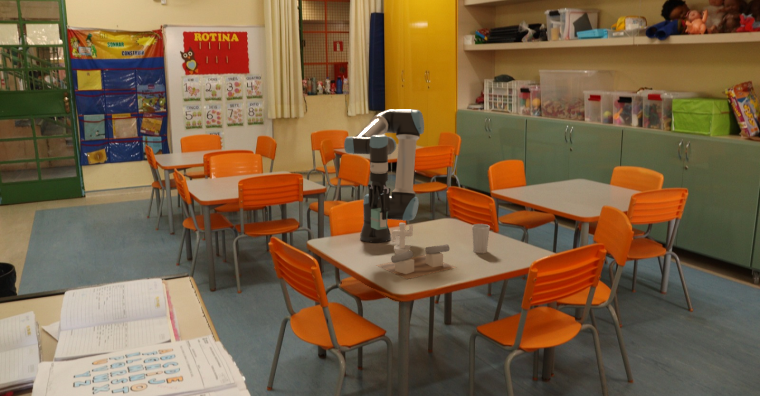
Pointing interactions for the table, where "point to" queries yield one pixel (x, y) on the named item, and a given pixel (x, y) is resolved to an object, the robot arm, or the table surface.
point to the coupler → (376, 219)
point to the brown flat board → (417, 268)
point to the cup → (480, 237)
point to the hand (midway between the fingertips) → (379, 225)
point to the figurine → (402, 238)
